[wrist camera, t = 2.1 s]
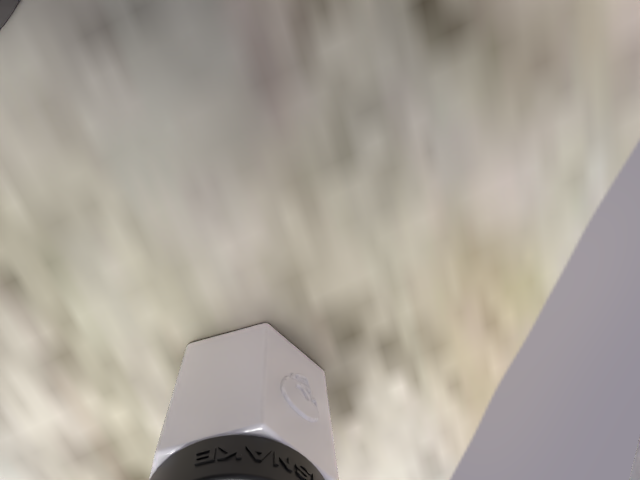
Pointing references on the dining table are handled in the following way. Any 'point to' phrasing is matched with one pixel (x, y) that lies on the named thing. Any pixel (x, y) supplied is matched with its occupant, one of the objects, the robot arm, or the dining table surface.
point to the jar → (247, 413)
